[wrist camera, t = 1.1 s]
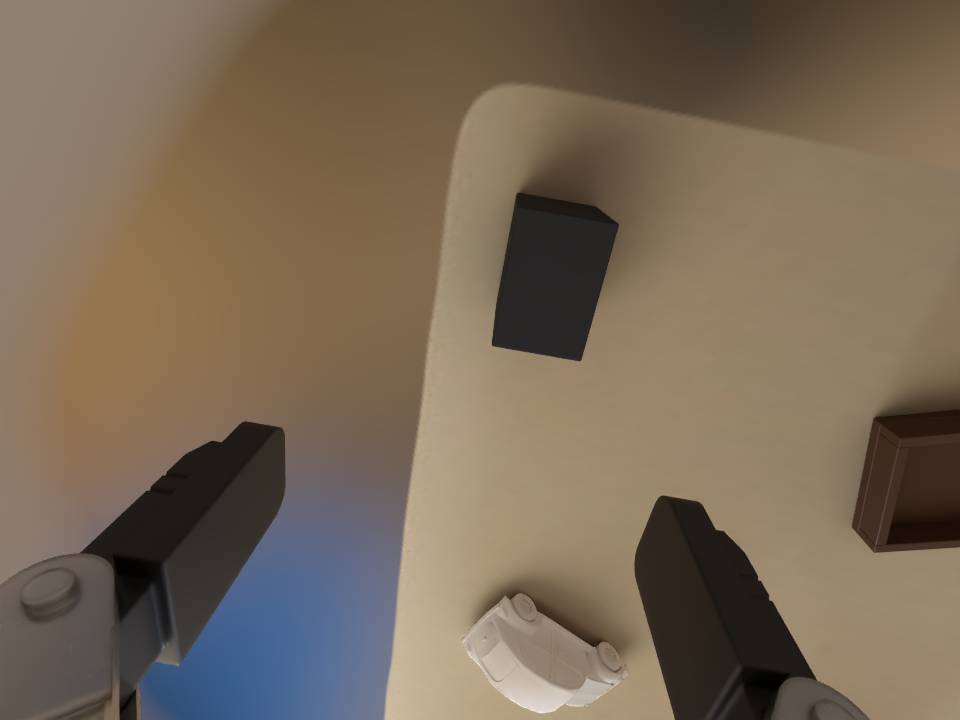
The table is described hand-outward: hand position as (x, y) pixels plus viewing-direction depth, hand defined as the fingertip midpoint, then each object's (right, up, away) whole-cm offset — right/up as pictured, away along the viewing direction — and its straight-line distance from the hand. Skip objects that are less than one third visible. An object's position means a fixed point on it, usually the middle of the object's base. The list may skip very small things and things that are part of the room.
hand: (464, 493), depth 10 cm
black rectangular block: (+4, +8, +14) cm, 17 cm away
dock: (+28, -4, +18) cm, 34 cm away
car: (+5, -18, +27) cm, 33 cm away
